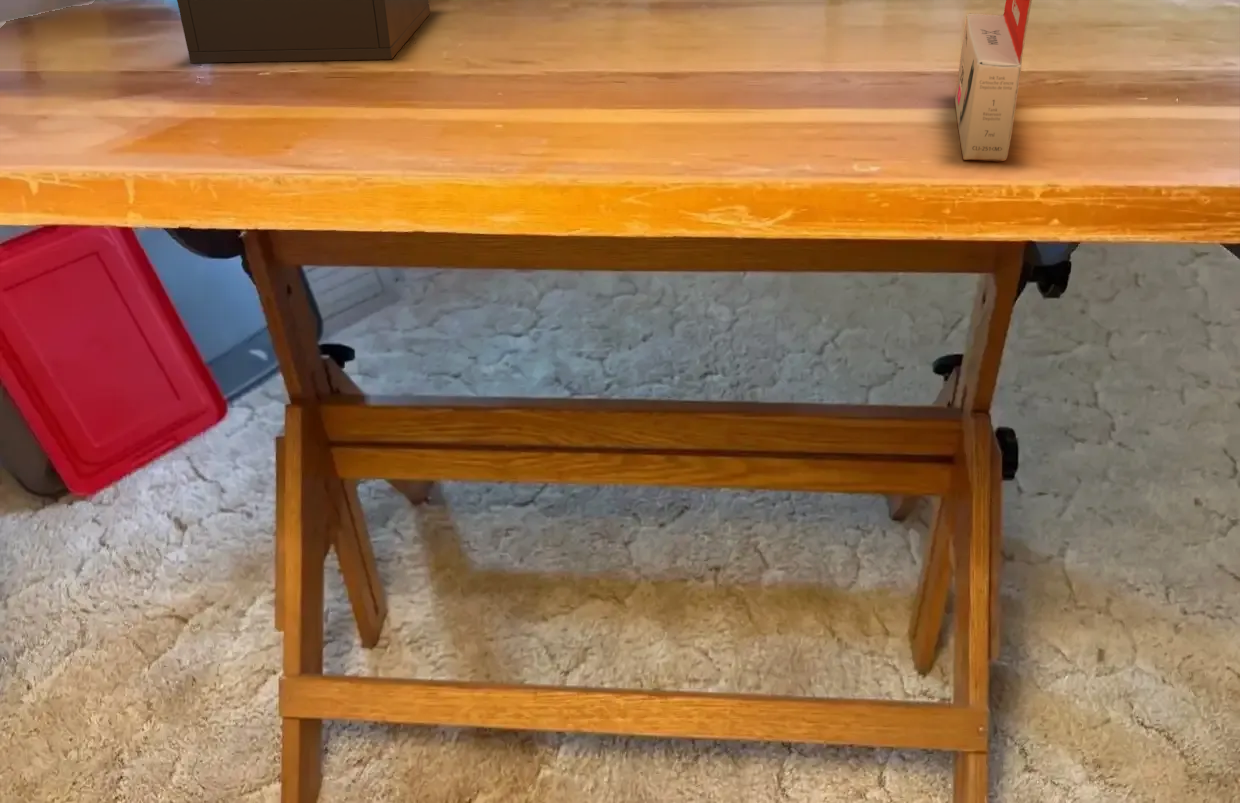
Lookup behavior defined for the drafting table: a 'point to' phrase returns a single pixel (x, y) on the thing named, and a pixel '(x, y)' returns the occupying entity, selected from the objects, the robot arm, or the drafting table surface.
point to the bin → (298, 29)
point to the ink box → (990, 80)
